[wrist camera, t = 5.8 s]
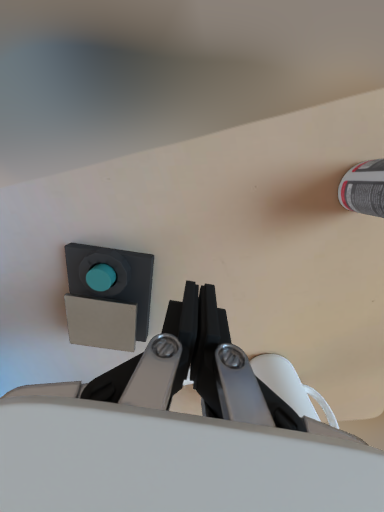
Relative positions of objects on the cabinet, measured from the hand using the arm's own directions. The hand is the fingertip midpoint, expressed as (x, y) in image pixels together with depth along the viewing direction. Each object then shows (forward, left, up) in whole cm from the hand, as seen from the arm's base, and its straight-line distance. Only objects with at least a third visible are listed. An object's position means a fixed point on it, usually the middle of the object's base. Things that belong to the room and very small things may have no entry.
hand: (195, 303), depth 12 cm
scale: (+10, -11, -14) cm, 21 cm away
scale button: (+6, -11, -11) cm, 17 cm away
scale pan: (+13, -11, -11) cm, 20 cm away
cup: (+21, +17, -14) cm, 31 cm away
